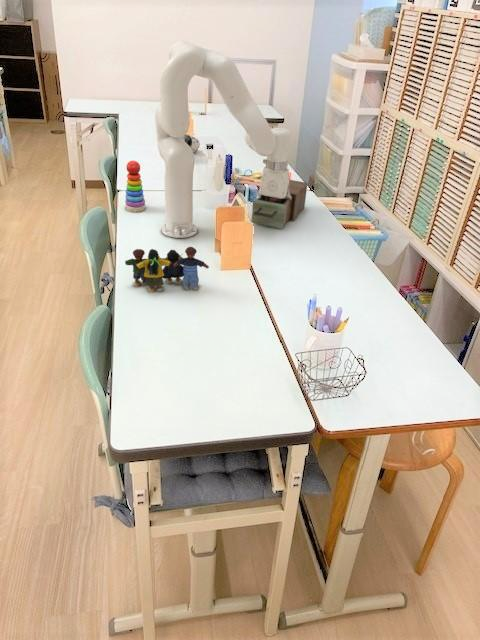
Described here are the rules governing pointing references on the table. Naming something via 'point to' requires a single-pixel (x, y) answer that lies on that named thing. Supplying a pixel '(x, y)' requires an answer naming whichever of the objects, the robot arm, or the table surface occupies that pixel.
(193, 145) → the paint bucket
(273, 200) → the glue stick
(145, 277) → the doll family
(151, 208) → the table surface
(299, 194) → the cabinet
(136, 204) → the stacking toy
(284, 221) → the drawer
